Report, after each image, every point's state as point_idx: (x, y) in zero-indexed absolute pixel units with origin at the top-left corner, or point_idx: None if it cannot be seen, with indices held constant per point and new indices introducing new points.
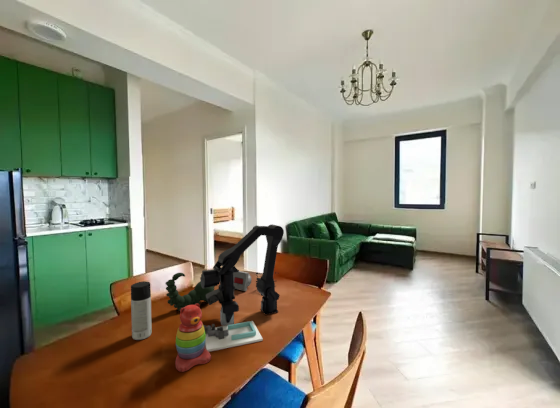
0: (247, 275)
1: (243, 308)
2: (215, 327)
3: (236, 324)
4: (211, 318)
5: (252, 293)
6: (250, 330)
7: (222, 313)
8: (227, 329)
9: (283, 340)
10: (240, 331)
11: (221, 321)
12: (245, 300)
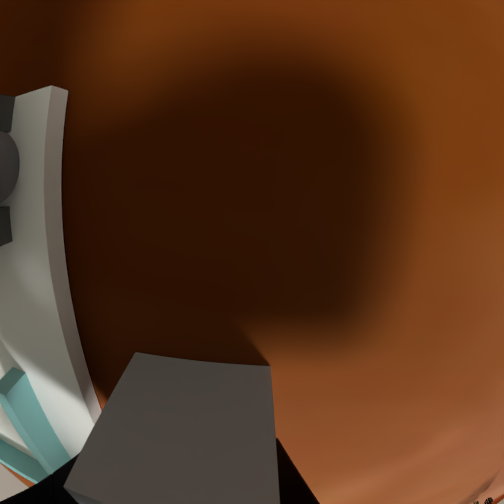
0: None
1: (385, 498)
2: (49, 266)
3: (28, 445)
4: (418, 265)
5: (479, 488)
6: (28, 453)
7: (80, 497)
8: (15, 365)
9: (8, 468)
10: (7, 416)
11: (151, 386)
12: (458, 485)
